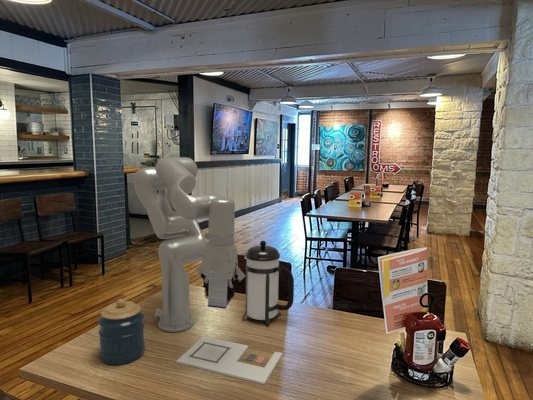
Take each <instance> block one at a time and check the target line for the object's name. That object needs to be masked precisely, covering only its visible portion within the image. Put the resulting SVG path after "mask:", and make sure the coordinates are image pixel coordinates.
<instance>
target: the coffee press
mask: <svg viewBox="0 0 533 400" xmlns="http://www.w3.org/2000/svg"><path fill="white" fill-rule="evenodd" d="M243 258H244V260H246V263H245V270H246V271H245V311H244V314H243V315H242V318H241V319H243V321H247V320H249V318H251V319H254V320H258V321H263V322H264V326H265V327H268V326H270V325H271V324H270V319H273V318H275V317H276V316H277V317H280V316H281V315H282V314H281V312H280V311H288V310H289V309H291V308H292V306H293V304H294V295H295V294H294V293H295V291H294V290H295V282H294V281H295V279H294V276H293V272H291V270H290V269H288V268H286V267H283V266H282V267H281V266H280V258H281V253H280V252H279V250H278V249H277V248H276V247H274V246H272V245H271V246H270V245H267V242H266V241H265V240H261V241H260V242H259V245H254V246H252V247H250V248H248V250H247V252H245V256H244V257H243ZM280 273H282V274H285V275H286V277H287V280H288V286H287V287H288V293H287V294H288V298H287V304H285V305H284V304H280V303H279V281H280V279H279V275H280Z"/></svg>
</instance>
